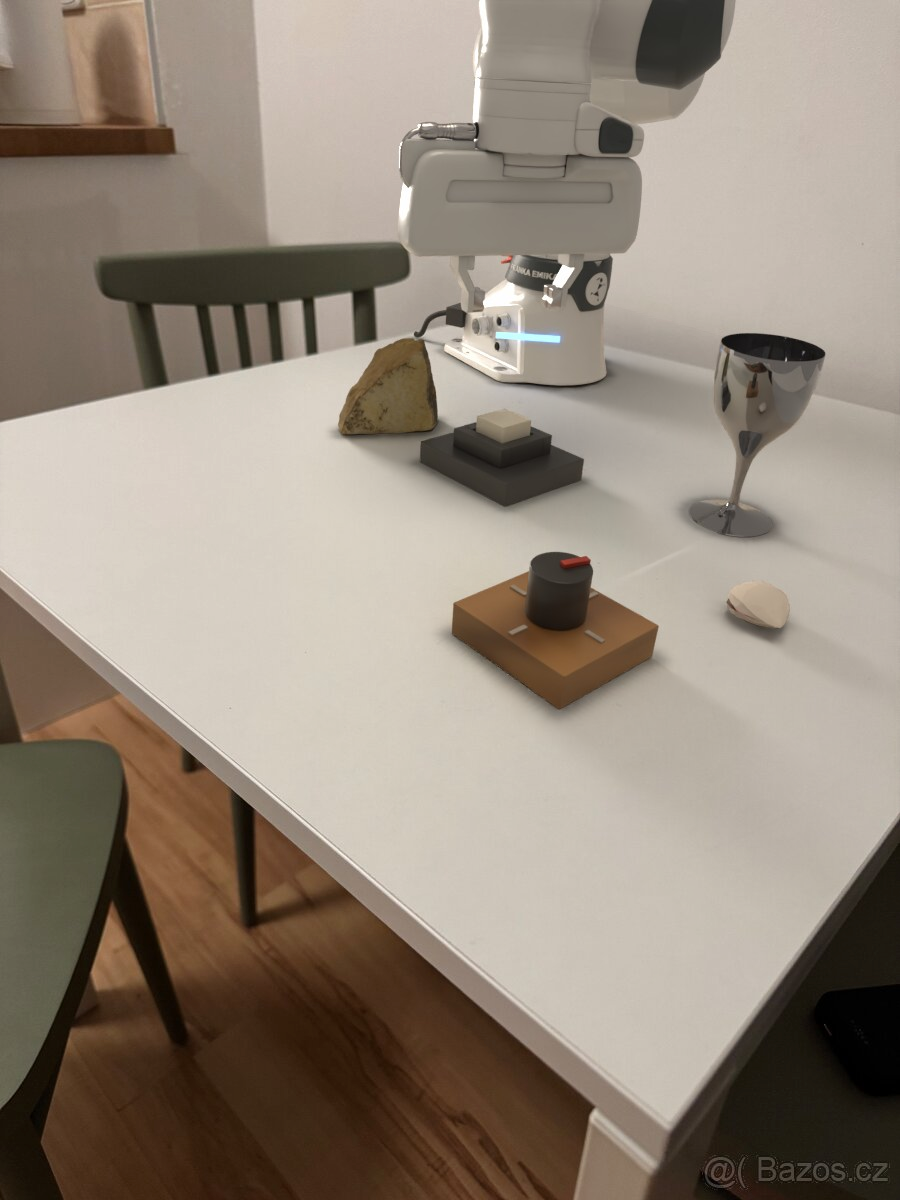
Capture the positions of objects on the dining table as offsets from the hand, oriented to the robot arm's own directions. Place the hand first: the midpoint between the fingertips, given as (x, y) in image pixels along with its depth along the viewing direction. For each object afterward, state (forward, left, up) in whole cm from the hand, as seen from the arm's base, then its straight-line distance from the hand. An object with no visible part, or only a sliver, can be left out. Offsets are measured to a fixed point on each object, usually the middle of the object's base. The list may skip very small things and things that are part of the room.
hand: (513, 309), depth 72 cm
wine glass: (+19, +10, -15) cm, 26 cm away
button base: (0, 0, -15) cm, 15 cm away
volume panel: (+23, -17, -15) cm, 32 cm away
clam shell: (+30, -3, -15) cm, 34 cm away
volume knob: (+23, -17, -12) cm, 31 cm away
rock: (-15, -2, -15) cm, 21 cm away
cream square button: (0, 0, -11) cm, 11 cm away
